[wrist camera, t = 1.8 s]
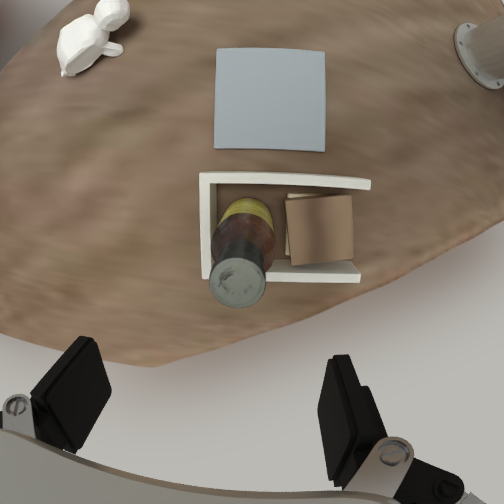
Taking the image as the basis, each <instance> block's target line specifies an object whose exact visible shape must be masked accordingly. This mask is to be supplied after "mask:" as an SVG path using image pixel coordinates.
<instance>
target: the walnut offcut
mask: <svg viewBox="0 0 504 504" xmlns="http://www.w3.org/2000/svg"><path fill="white" fill-rule="evenodd" d="M284 204H285V214H286V223H287V233H288V243H289V253H290V261H291V265H292V266H293V265H302V264H311V263H319V262H328V261H336V260H345V259H353V258H354V240H353V216H352V199H351V195H350V194H348V193H335V194H323V195H313V196H302V197H293V198H284Z"/></svg>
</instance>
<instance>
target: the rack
mask: <svg viewBox="0 0 504 504" xmlns="http://www.w3.org/2000/svg"><path fill="white" fill-rule="evenodd" d="M217 183H249V184H284V185H307V186H324V187H339V188H353V189H365V190H370V187H371V180H369V179H364V178H359V177H349V176H337V175H323V174H307V173H286V172H253V171H207V172H202V173H199V187H200V238H201V265H202V279H209V276H210V272H211V268H212V266H213V264H214V263H215V262H214V260H213V257H212V255H211V239H212V236H213V233H214V231H215V229H216V227H217ZM360 277H361V273H360V272H359V271H358V270H357V268H356V267H355V266H354V265H353V263H352V262H351V261H328V262H319V263H311V264H302V265H293V266H292V265H291V261H290V259H274V260H273V263H272V266H271V267H270V268H269V270H268V271H267V272H266V281H276V282H327V283H360Z"/></svg>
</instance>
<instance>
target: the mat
mask: <svg viewBox="0 0 504 504" xmlns="http://www.w3.org/2000/svg"><path fill="white" fill-rule="evenodd" d="M214 149H282V150H302V151H317V152H325V53H324V52H319V51H309V50H297V49H279V48H225V49H217V58H216V83H215V119H214Z"/></svg>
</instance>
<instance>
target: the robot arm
mask: <svg viewBox="0 0 504 504" xmlns="http://www.w3.org/2000/svg"><path fill="white" fill-rule="evenodd" d="M454 42H455V47H456V51H457V53H458V56H459V58H460V60H461V62H462V64H463V66H464V67H465V69H466V70H467V72H468V73H469V74H470V75H471V77H472V78H473V79H474V80H475V81H476V82H478V83H479V84H480V85H482V86H483V87H485V88H488V89H499V88H501V87H502V86H503V85H504V14H503V15H501V16H499V17H497V18H494V19H492V20H490V21H488V22H486V23H484V24H482V25H480V26H478V25H475V24H473V23H464V24H461V25H460V26H458V27H457V29H456V30H455V34H454ZM111 391H112V390H111V385H110V383H109V380H108V377H107V374H106V371H105V368H104V365H103V361H102V358H101V355H100V352H99V348H98V345H97V343H96V342H95V341H94V339H93V338H91V337H85V336H79V337H78V338H77V339H76V340H75V341H74V342H73V344H72V345H71V346H70V347H69V348H68V349H67V350H66V351H65V352H64V354H63V355H62V356H61V357H60V358H59V359H58V361H57V362H56V363H55V364H54V365H53V366H52V367H51V369H50V370H49V371H48V372H47V373H46V374H45V376H44V377H43V378H42V379H41V380H40V381H39V383H38V384H37V385H36V386H35V388H34V389H33V390H32V391H31V392H30V394H31V396H32V397H31V398H30V399H29V398H28V397H27V396H26V395H23V394H16V395H12V396H11V397H9V398H8V399H7V400H6V401H5V402H4V404H3V411H0V504H486V503H484V502H483V501H482V500H480V499H479V498H478V497H476V496H475V495H474V494H472V493H471V492H470V493H469V494H467V493H466V492H464V484H463V481H462V480H461V479H460V478H459V476H457V475H455V474H453V473H450V472H447V471H445V470H442V469H440V468H437V467H435V466H433V465H430V464H428V463H425V462H423V461H421V460H418V459H416V458H414V450H413V448H412V446H411V444H410V443H408V441H406V440H404V439H402V438H399V437H388V435H387V433H386V430H385V427H384V425H383V422H382V419H381V417H380V414H379V411H378V409H377V407H376V404H375V401H374V398H373V396H372V393H371V391H370V389H369V387H368V386H361V385H360V383H359V380H358V377H357V374H356V372H355V369H354V366H353V364H352V362H351V359H350V356H349V355H347V354H346V355H334V356H333V359H329V360H328V362H327V367H326V372H325V377H324V381H323V386H322V390H321V394H320V399H319V403H318V419H319V424H320V430H321V435H322V442H323V448H324V454H325V461H326V467H327V474H328V479H329V481H332V480H333V482H334V487H340V486H342V491H304V492H256V491H236V490H223V489H213V488H205V487H197V486H190V485H184V484H178V483H172V482H167V481H162V480H157V479H153V478H148V477H144V476H140V475H136V474H132V473H128V472H125V471H121V470H117V469H114V468H111V467H108V466H104V465H101V464H98V463H95V462H92V461H90V460H86V459H84V458H81V457H79V456H76V455H73V454H76V452H77V450H78V449H80V448H82V446H83V444H84V442H85V440H86V439H87V437H88V435H89V433H90V431H91V430H92V428H93V426H94V424H95V422H96V420H97V418H98V417H99V415H100V413H101V411H102V410H103V408H104V406H105V404H106V403H107V401H108V399H109V398H110V396H111ZM63 449H65V451H63ZM66 451H68V452H70V453H68V452H66ZM71 453H73V454H71Z"/></svg>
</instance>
